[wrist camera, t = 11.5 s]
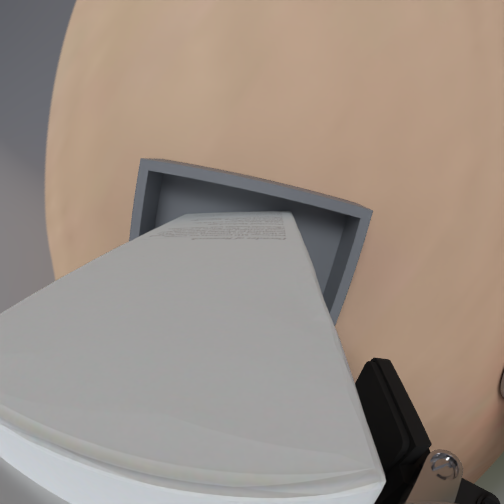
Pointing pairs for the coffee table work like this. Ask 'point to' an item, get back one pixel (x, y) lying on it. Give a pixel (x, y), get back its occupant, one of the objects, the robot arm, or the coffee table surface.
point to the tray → (251, 200)
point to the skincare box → (187, 374)
